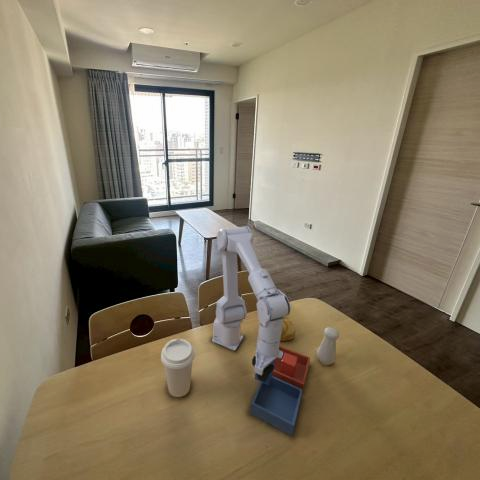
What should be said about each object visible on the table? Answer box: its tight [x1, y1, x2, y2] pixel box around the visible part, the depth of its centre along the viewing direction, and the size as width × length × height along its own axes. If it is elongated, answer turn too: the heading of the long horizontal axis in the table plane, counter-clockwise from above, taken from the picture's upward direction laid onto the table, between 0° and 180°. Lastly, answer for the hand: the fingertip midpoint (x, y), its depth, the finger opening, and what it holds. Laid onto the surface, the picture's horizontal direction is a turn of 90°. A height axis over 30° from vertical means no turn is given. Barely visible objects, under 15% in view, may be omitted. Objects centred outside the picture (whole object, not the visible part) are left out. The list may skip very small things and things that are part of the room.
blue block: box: [254, 361, 275, 386], centre depth 70 cm, size 4×4×5 cm
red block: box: [280, 353, 298, 378], centre depth 80 cm, size 4×4×5 cm
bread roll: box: [280, 315, 296, 342], centre depth 96 cm, size 13×10×8 cm
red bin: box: [272, 345, 311, 393], centre depth 80 cm, size 11×11×4 cm
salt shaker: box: [316, 326, 340, 367], centre depth 83 cm, size 6×6×13 cm
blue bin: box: [249, 376, 304, 437], centre depth 70 cm, size 11×11×4 cm
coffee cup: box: [160, 338, 196, 398], centre depth 73 cm, size 10×10×15 cm
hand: (264, 373), depth 71 cm, fingers closed on blue block, 4 cm apart
